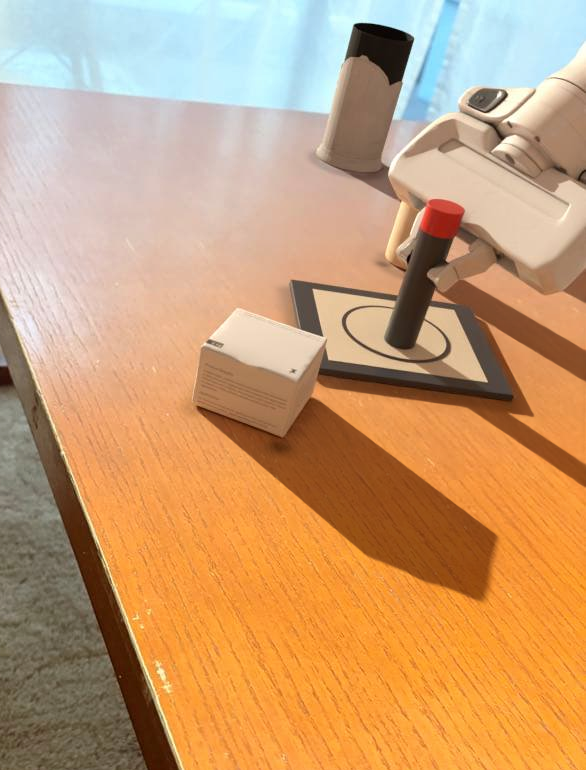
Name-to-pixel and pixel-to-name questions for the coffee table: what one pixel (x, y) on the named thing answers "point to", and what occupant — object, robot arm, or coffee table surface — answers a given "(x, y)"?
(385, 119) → the glass holder
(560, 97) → the robot arm
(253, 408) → the small box
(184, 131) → the coffee table surface
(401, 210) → the candle
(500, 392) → the drawing board
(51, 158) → the coffee table surface
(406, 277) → the marker
